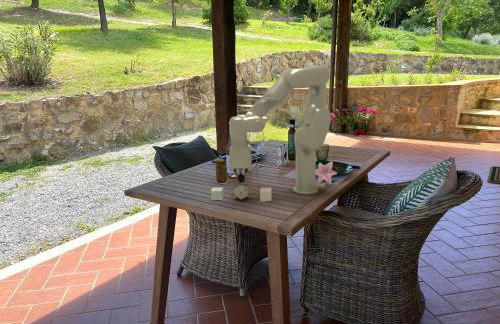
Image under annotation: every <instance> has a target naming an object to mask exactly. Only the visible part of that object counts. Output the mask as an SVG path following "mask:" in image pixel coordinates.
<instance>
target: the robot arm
mask: <svg viewBox="0 0 500 324" xmlns="http://www.w3.org/2000/svg"><path fill="white" fill-rule="evenodd" d="M330 79H331V71H330V69H329V68H328V67H327V66H325V65H320V64H319V65H317V64H310V65H307V66H306V67H304V68H303V67H302V68H296V67H295V68H294V67H293V68H291V67H290V68H286V69H285V70H284V71H283V72H282V73H281V74H280V75H279V77H278V78H277V79H276V80H275V82H274V83H273V84H272V85H271V87H270V88H269V89H268V90H267V92H265V94H263V95H262V96H261V97H260V98H258V99H257V100H256V101H255V102H254V103H253V104H252V106H251V107H250V108H249V109H248V110H247V112H246V113H245V114H244V115H243V116H241V115H238V116H237V115H236V116H232V117H231V118H230V119H229V128H230V142H231V143H230V146H229V156H228V158H229V159H228V160H229V161H228V163H229V166H228V167H229V171H232V172H234V173H235V174H236V175H237V182H239V183H238V184H240V183H242V184H244V182H245V180H246V173H247V172H249V171H253V158H252V157H253V156H252V150H251V146H250V145H251V144H252V141H251V140H248V139H249V138H248V133H260V132H262V131H263V130H264V129H265V127H266V121H265V119H264V118H263V117H264V116H265V115H266V114H267V113H268V112H269V111H271V110H273V109H275V108H278V107H279V106H281V105H282V104H283V103H284V102H285V101H286V99H287V98H288V97H289V95H290V94H291V93H292V92H293V90H294V89H305V88H308V94H307V95H308V96H307V99H306V103H305V107H304V109H303V112H302V119H303V121H304V122H305V123H306V124H308V126H300V127H298V128H297V129H296V130H295V133H294V136H293V141H294V149H295V186H293V187H292V191H293V192H294V193H295V194H299V195H314V194H316V193H318V192H319V189H320V188H321V189H323V188H326V185H325V184H326V183H323V182H319V183H318V181H317V180H316V175H315V170H316V169H317V168H316V166H317V164H316V159H317V158H316V155H317V154H316V151H318V150H320V149H321V148H322V147H323V146H324V143H325V141H326V138H327V134H328V131H329V130H330V126H331V121H332V115H331V112H330V110H329V109H328V108H326V102H327V97H328V86H327V83H328V82H329V80H330ZM241 169H242V170H241Z"/></svg>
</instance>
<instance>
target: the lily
mask: <svg viewBox="0 0 500 324" xmlns="http://www.w3.org/2000/svg"><path fill="white" fill-rule="evenodd" d="M318 167H319V168H315V176H318V178H317V183H322V181H325V182H326V183H328V184H330V185H332V176H334V175H337V174H338V172H337V171H335V170H332V168H333V161H330V162H328V163H327V164H325V165H324V164H322V163H321V162H319V164H318Z"/></svg>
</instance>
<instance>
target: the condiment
mask: <svg viewBox="0 0 500 324" xmlns="http://www.w3.org/2000/svg"><path fill="white" fill-rule="evenodd" d="M215 164H216V165H215V180H216V181H217V182H218V183H225V182H227V180H228V181H229V179H228V165H227V160H225V159H217V160H216V161H215ZM225 184H226V183H225Z"/></svg>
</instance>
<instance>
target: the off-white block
mask: <svg viewBox="0 0 500 324" xmlns="http://www.w3.org/2000/svg"><path fill="white" fill-rule="evenodd" d="M272 189H273V188H272V187H260V190H259V201H260V202H266V201H271V202H272V198H273V197H272V194H273V193H272V192H273V191H272Z"/></svg>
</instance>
